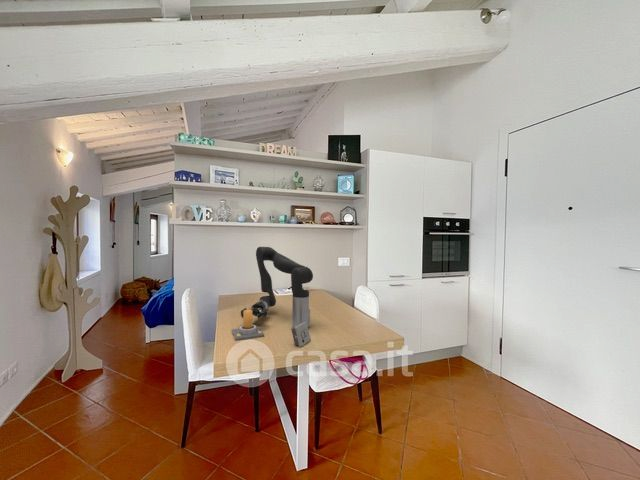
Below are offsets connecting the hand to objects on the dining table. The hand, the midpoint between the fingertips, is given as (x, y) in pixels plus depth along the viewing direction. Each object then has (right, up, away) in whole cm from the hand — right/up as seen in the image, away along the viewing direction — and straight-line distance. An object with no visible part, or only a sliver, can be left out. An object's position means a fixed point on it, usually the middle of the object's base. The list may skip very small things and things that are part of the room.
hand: (250, 316), depth 144 cm
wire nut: (0, -7, -3) cm, 8 cm away
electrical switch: (+28, -9, -15) cm, 33 cm away
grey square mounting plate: (0, -8, -3) cm, 9 cm away
